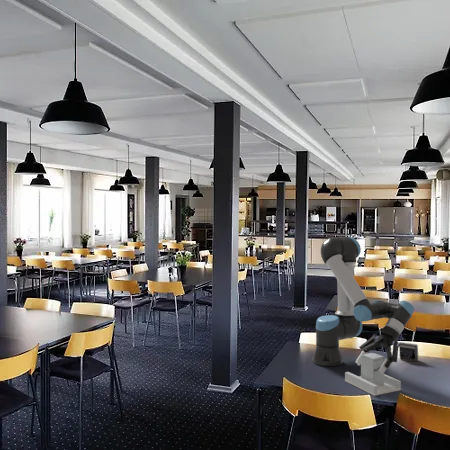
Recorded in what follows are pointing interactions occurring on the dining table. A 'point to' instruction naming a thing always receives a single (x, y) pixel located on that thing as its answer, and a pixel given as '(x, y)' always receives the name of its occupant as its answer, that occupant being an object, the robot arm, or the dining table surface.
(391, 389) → the tray
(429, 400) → the dining table surface
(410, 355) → the electrical switch
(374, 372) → the supplement box
